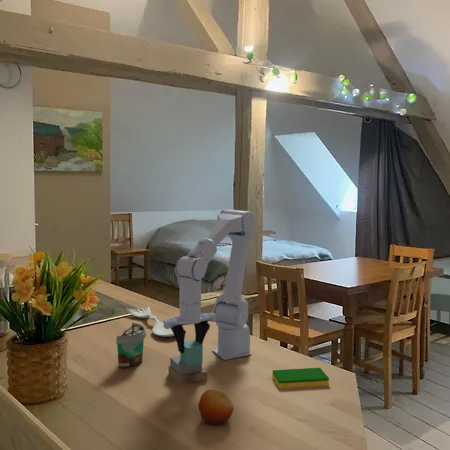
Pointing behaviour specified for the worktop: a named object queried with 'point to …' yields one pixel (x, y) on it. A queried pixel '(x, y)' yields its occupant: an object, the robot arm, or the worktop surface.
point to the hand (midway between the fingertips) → (189, 350)
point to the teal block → (192, 353)
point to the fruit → (215, 407)
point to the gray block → (183, 366)
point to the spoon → (158, 326)
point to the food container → (131, 347)
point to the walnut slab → (188, 377)
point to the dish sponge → (300, 378)
